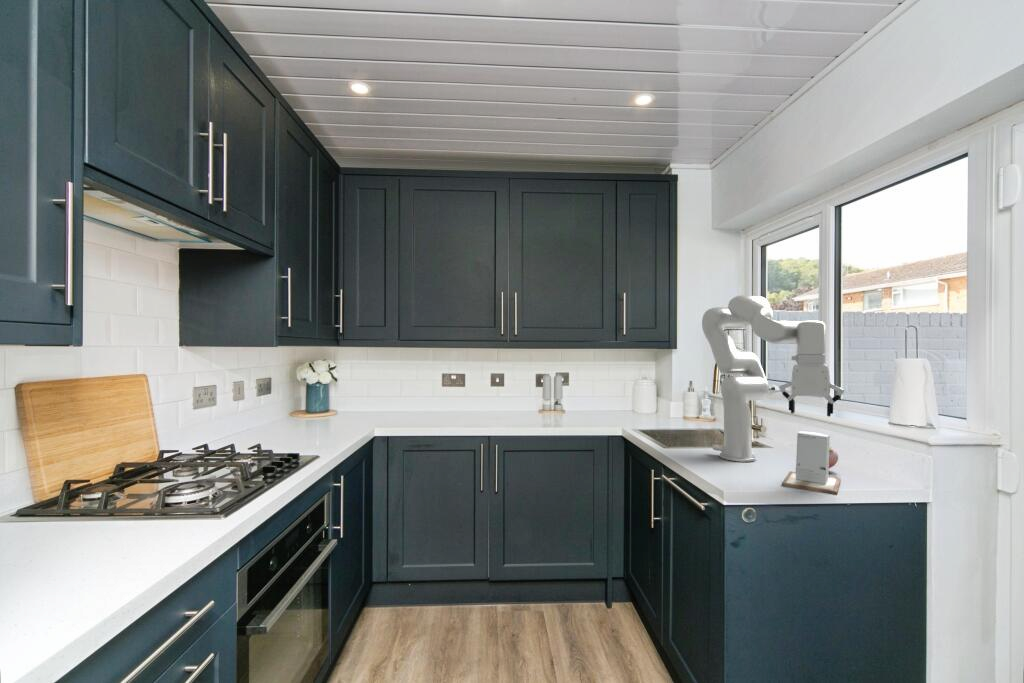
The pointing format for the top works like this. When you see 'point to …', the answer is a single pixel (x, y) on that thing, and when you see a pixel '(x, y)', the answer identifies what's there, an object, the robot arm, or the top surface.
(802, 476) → the skincare box
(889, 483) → the top surface
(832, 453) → the decorative fruit
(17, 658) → the top surface
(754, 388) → the robot arm
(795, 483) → the clipboard
